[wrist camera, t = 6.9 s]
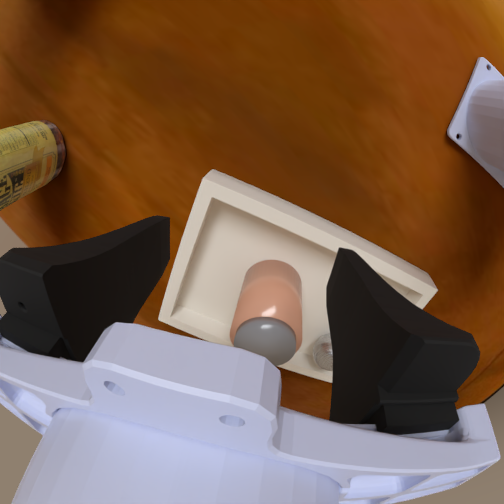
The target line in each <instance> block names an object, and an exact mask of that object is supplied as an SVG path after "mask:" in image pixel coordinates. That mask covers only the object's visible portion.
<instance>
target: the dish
mask: <svg viewBox="0 0 504 504" xmlns="http://www.w3.org/2000/svg"><path fill="white" fill-rule="evenodd" d="M339 247H340V248H346V249H351V250H354V251H355V252H356V253H357V254H358V255H359V256H360V257H361V258H362V259H364V260H365V262H366V263H367V264H368V265H369V266H370V267H371V268H372V269H373V270H374V271H375V272H376V273H377V274H379V275H380V276H381V277H382V278H383V279H384V280H385V281H386V282H387V283H388V284H389V285H390V286H391V287H393V288H394V289H395V290H396V291H397V292H399V293H400V294H401V295H402V296H404V297H405V298H406V299H408V300H409V301H410V302H412V303H413V304H415V305H416V306H418V307H419V308H421V309H423V308H424V307H425V305H426V304H427V303H428V302H429V301H430V299H431V298H432V297H433V296H434V294H435V293H436V292H437V291H438V289H437V288H436V286H435V284H434V283H433V281H432V279H431V278H430V276H429V274H428V273H426V272H425V271H423V270H421V269H419V268H417V267H416V266H414V265H412V264H410V263H409V262H407V261H405V260H403V259H401V258H399V257H398V256H396V255H394V254H392V253H390V252H388V251H386V250H385V249H383V248H381V247H379V246H377V245H375V244H373V243H371V242H369V241H367V240H365V239H364V238H362V237H360V236H358V235H356V234H354V233H352V232H350V231H348V230H346V229H344V228H342V227H340V226H338V225H336V224H334V223H332V222H330V221H328V220H326V219H324V218H321V217H319V216H317V215H315V214H313V213H311V212H309V211H307V210H305V209H303V208H300V207H298V206H296V205H294V204H292V203H290V202H288V201H285V200H283V199H281V198H279V197H277V196H274V195H272V194H270V193H268V192H265V191H263V190H261V189H259V188H256V187H254V186H252V185H250V184H247V183H245V182H243V181H240V180H238V179H236V178H233V177H231V176H228V175H226V174H224V173H221V172H219V171H216V170H214V169H212V170H211V171H210V172H209V173H208V174H207V175H206V176H204V177H203V179H202V182H201V185H200V187H199V190H198V193H197V196H196V199H195V202H194V204H193V207H192V210H191V213H190V216H189V219H188V222H187V225H186V228H185V231H184V234H183V237H182V240H181V243H180V246H179V250H178V253H177V256H176V259H175V262H174V266H173V269H172V272H171V276H170V279H169V282H168V286H167V289H166V293H165V296H164V300H163V303H162V307H161V311H160V314H159V318H158V320H160V321H162V322H164V323H167V324H169V325H171V326H173V327H176V328H178V329H180V330H183V331H185V332H187V333H190V334H192V335H194V336H197V337H199V338H202V339H204V340H207V341H209V342H213V343H217V344H222V345H227V346H232V347H234V346H233V344H232V342H231V340H230V329H231V325H232V321H233V318H234V314H235V310H236V306H237V302H238V299H239V295H240V291H241V287H242V284H243V280H244V276H245V274H246V272H247V271H248V269H249V268H250V267H251V266H253V265H254V264H256V263H258V262H260V261H264V260H279V261H283V262H285V263H288V264H289V265H291V266H292V267H293V268H294V269H295V270H296V271H297V272H298V273H299V275H300V278H301V282H302V344H301V347H300V348H299V350H298V351H297V352H296V353H295V354H294V356H293V357H292V358H291V359H290V360H289V361H288V362H286V363H284V364H282V365H279V366H278V367H281V368H284V369H287V370H290V371H293V372H297V373H300V374H303V375H306V376H310V377H313V378H316V379H320V380H323V381H327V382H331V383H332V376H333V371H328V370H324V369H322V368H320V367H319V366H318V365H317V364H316V363H315V361H314V358H313V347H314V345H315V343H316V341H317V340H318V339H319V338H320V337H322V336H323V335H325V334H329V333H330V329H329V322H328V315H327V308H326V286H327V283H328V280H329V277H330V274H331V271H332V268H333V265H334V262H335V258H336V255H337V252H338V249H339Z"/></svg>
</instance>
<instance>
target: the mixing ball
mask: <svg viewBox="0 0 504 504" xmlns="http://www.w3.org/2000/svg"><path fill="white" fill-rule="evenodd" d="M313 358H314V361H315V363H316V364H317V365H318V366H319V367H320V368H322V369H324V370H328V371H333V355H332V344H331V336H330V333H329V334H325V335H323V336H322V337H320V338H319V339H318V340H317V341H316V343H315V345H314V347H313Z"/></svg>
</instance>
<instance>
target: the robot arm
mask: <svg viewBox="0 0 504 504" xmlns="http://www.w3.org/2000/svg"><path fill="white" fill-rule="evenodd" d="M486 65H487V66H488V69H487V67H486ZM447 134H448V136H449V138H451V139H452V140H453V141H454V142H455V143H457V144H458V145H459V146H460V147H461V148H462V149H464V150H465V151H466V152H467V153H468V154H469V155H470V156H471V157H473V158H474V159H475V160H476V161H477V162H478V163H479V164H480V165H481V166H482V167H483V168H484V169H485V170H486V171H487V172H488V173H489V174H490V175H491V176H492V177H493V178H494V179H495V180H496V181H497V182H498V183H499V184H500V185H501V186H502V187H503V188H504V77H503V76H502V75H501V74H500V73H499V72H498V71H497V70H496V69H495V68H494V66H493V65H492V64H491V63H489V62H488V61H487V60H486V59H485V58H484V57H480V58H478V60H477V63H476V65H475V68H474V70H473V73H472V75H471V78H470V80H469V83H468V85H467V88H466V90H465V92H464V95H463V97H462V99H461V101H460V104H459V106H458V108H457V110H456V112H455V114H454V117H453V119H452V121H451V123H450V125H449V127H448V129H447ZM457 134H459V138H458V139H457V138H456V135H457ZM169 259H170V217H163V216H152V217H149V218H146V219H143V220H140V221H138V222H135V223H133V224H130V225H128V226H125V227H123V228H120V229H117V230H114V231H111V232H109V233H106V234H103V235H100V236H97V237H94V238H90V239H86V240H82V241H78V242H73V243H68V244H63V245H56V246H48V247H36V248H12V249H11V250H9V251H8V252H7V253H5V254H4V255H3V256H2V257H1V258H0V297H1V299H2V302H3V304H4V306H5V309H6V311H7V313H6V314H5V315H4V316H3V317H2V316H1V315H0V403H1V404H2V405H3V406H4V407H6V408H7V409H8V410H9V411H11V412H12V413H13V414H14V415H16V416H17V417H18V418H20V419H21V420H22V421H24V422H25V423H26V424H28V425H29V426H30V427H32V428H33V429H35V430H36V431H37V432H39V433H40V434H42V435H43V437H42V439H41V441H40V443H39V445H38V447H37V449H36V451H35V453H34V455H33V457H32V459H31V461H30V463H29V465H28V467H27V469H26V471H25V474H24V476H23V478H22V480H21V482H20V485H19V487H18V489H17V492H16V494H15V496H14V499H13V501H12V503H11V504H393V503H397V502H402V501H406V500H410V499H414V498H418V497H422V496H426V495H430V494H434V493H437V492H441V491H444V490H448V489H451V488H455V487H457V486H458V485H460V484H462V483H464V482H466V481H467V480H469V479H471V478H472V477H474V476H476V475H477V474H479V473H481V472H482V471H484V470H485V469H487V468H488V467H489V466H491V465H493V464H494V463H496V462H497V461H499V459H500V453H499V449H498V446H497V442H496V438H495V435H494V432H493V428H492V425H491V422H490V419H489V416H488V413H487V410H486V407H485V404H476V405H468V406H463V407H461V408H459V409H457V410H456V407H455V403H454V402H456V401H457V400H458V398H459V397H458V394H457V391H456V390H457V389H458V388H459V387H460V386H461V385H462V383H463V382H464V381H465V380H466V379H467V378H468V377H469V375H470V374H471V373H472V372H473V370H474V369H475V367H476V365H477V363H478V361H479V358H480V351H479V348H478V346H477V344H476V342H475V340H474V338H473V336H472V334H470V333H468V332H465V331H463V330H461V329H458V328H456V327H454V326H451V325H449V324H447V323H445V322H443V321H441V320H439V319H437V318H436V317H434V316H432V315H430V314H429V313H427V312H425V311H424V310H422V309H421V308H419V307H418V306H416V305H415V304H413V303H412V302H410V301H409V300H408V299H406V298H405V297H404V296H402V295H401V294H400V293H399V292H397V291H396V290H395V289H394V288H393V287H391V286H390V285H389V284H388V283H387V282H386V281H385V280H384V279H383V278H382V277H381V276H380V275H379V274H377V273H376V272H375V271H374V270H373V269H372V268H371V267H370V266H369V265H368V264H367V263H366V262H365V260H364V259H362V258H361V257H360V256H359V255H358V254H357V253H356V252H355V251H354V250H351V249H346V248H340V247H339V249H338V252H337V255H336V258H335V262H334V265H333V268H332V271H331V274H330V277H329V280H328V283H327V286H326V308H327V315H328V322H329V329H330V336H331V344H332V355H333V376H332V397H331V409H330V419H329V420H326V419H322V418H318V417H315V416H311V415H308V414H304V413H301V412H298V411H294V410H291V409H288V408H285V407H282V406H280V398H281V386H282V384H281V375H280V371H279V370H278V369H277V368H276V367H275V366H274V365H273V364H272V363H271V362H270V361H269V360H268V359H266V358H265V357H264V356H261V355H258V354H256V353H253V352H250V351H247V350H245V349H242V348H238V347H232V346H227V345H222V344H217V343H213V342H208V341H203V340H199V339H195V338H190V337H186V336H182V335H178V334H174V333H170V332H166V331H162V330H158V329H154V328H150V327H147V326H143V325H139V324H133V322H134V319H135V317H136V316H137V314H138V312H139V310H140V309H141V307H142V306H143V304H144V303H145V301H146V300H147V298H148V296H149V295H150V293H151V292H152V290H153V289H154V287H155V286H156V284H157V283H158V281H159V280H160V278H161V276H162V275H163V272H164V270H165V268H166V266H167V264H168V262H169Z"/></svg>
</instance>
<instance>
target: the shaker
mask: <svg viewBox="0 0 504 504" xmlns="http://www.w3.org/2000/svg"><path fill="white" fill-rule="evenodd" d="M230 340H231V342H232V344H233V346H234V347H238V348H242V349H245V350H247V351H250V352H253V353H256V354H258V355H261V356H264V357H265V358H266V359H268V360H269V361H270V362H271V363H272V364H273V365H274V366H279V365H282V364H284V363H286V362H288V361H289V360H290V359H291V358H292V357H293V356H294V354H295V353H296V352H297V351H298V350H299V348H300V347H301V344H302V282H301V278H300V275H299V273H298V272H297V271H296V270H295V269H294V268H293V267H292V266H291V265H289V264H288V263H285V262H283V261H279V260H264V261H260V262H258V263H256V264H254V265H253V266H251V267H250V268H249V269H248V271H247V272H246V274H245V276H244V280H243V284H242V287H241V291H240V295H239V299H238V302H237V306H236V310H235V314H234V318H233V321H232V325H231V329H230Z"/></svg>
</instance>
